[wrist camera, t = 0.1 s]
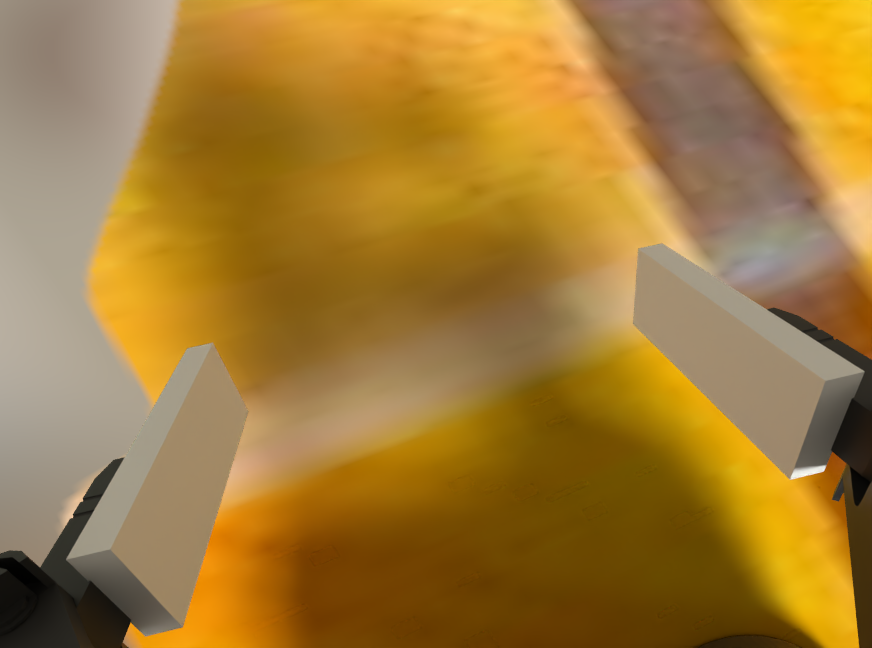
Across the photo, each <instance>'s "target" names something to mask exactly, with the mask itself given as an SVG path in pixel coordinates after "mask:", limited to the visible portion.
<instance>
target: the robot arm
mask: <svg viewBox="0 0 872 648" xmlns="http://www.w3.org/2000/svg"><path fill="white" fill-rule="evenodd" d="M633 324H634V325H635V326H636V327H637V328H638V329H639V330H640V331H641V332H642V333H643V334H644V335H645V336H646V337H647V338H648V339H649V340H650V341H651V342H652V343H653V344H654V345H655V346H656V347H657V348H658V349H659V350H660V351H661V352H662V353H663V354H664V355H665V356H666V357H667V358H668V359H669V360H670V361H671V362H672V363H673V364H674V365H675V366H676V367H677V368H678V369H679V370H680V371H681V372H682V373H683V374H684V375H685V376H686V377H687V378H688V379H689V380H690V381H691V382H692V383H693V384H694V385H695V386H696V387H697V388H698V389H699V390H700V391H701V392H702V393H703V394H704V395H705V396H706V397H707V398H708V399H709V400H710V401H711V402H712V403H713V404H714V405H715V406H716V407H717V408H718V409H719V410H720V411H721V412H722V413H723V414H724V415H725V416H726V417H727V418H728V419H729V420H730V421H731V422H732V423H733V424H734V425H735V426H737V427H738V428H739V429H740V430H741V431H742V432H743V433H744V434H745V435H746V436H747V437H748V438H749V439H750V440H751V441H752V442H753V443H754V444H755V445H756V446H757V447H758V448H759V449H760V450H761V451H762V452H763V453H764V454H765V455H766V456H767V457H768V458H769V459H770V460H771V461H772V462H773V463H774V464H775V465H776V466H777V467H778V468H779V469H780V470H781V471H782V472H783V473H784V474H785V475H786V476H787V477H788V478H789V479H790V480H791V479H795V478H799V477H803V476H807V475H811V474H815V473H820V472H824V470H825V467H826V465H827V462H828V460H829V457H830V455H831V453H832V451H833V452H834V453H835V454H836V455H837V456H838V457H840V458H841V459H842V460H843V461H844V462H846V463H847V464H846V466H845V469H844V471H843V473H842V475H841V478H840V480H839V482H838V484H837V487H836V489H835V491H834V494H833V498H832V500H836V501H839V500H840V498H841V495H842V494H843V493H844V496H845V507H846V517H847V527H848V537H849V547H850V557H851V567H852V577H853V587H854V598H855V608H856V618H857V628H858V638H859V648H872V360H871V359H869V358H868V357H866V356H864V355H863V354H861V353H859V352H858V351H856V350H854V349H853V348H851V347H849V346H848V345H846V344H844V343H843V342H841V341H839V340H838V339H836V340H834V339H833V336H831V335H829V334H828V333H826V332H824V331H823V330H818V329H817V327H816V326H814V325H813V324H811V323H809V322H808V321H806V320H804V319H803V318H801V317H799V316H797V315H794V314H791V313H788V312H785V311H782V310H779V309H776V308H771V309H765V308H763V307H762V306H760V305H759V304H757V303H755V302H754V301H752V300H751V299H749V298H748V297H746V296H744V295H743V294H741V293H740V292H738V291H737V290H735V289H733V288H732V287H730V286H729V285H727V284H725V283H724V282H722V281H721V280H719V279H718V278H716V277H714V276H713V275H711V274H710V273H708V272H706V271H705V270H703V269H702V268H700V267H699V266H697V265H695V264H694V263H692V262H691V261H689V260H687V259H686V258H684V257H683V256H681V255H680V254H678V253H676V252H675V251H673V250H672V249H670V248H669V247H667V246H665V245H664V244H657V245H653V246H648V247H644V248H639V249H638V259H637V273H636V288H635V303H634V317H633ZM247 414H248V409H247V408H246V406H245V404H244V402H243V400H242V398H241V396H240V394H239V392H238V390H237V388H236V386H235V384H234V382H233V380H232V379H231V377H230V375H229V373H228V371H227V369H226V367H225V365H224V363H223V361H222V359H221V357H220V355H219V353H218V351H217V350H216V348H215V346H214V344H213V343H210V344H205V345H200V346H196V347H191V348H187V350H186V351H185V353H184V355H183V357H182V358H181V360H180V362H179V364H178V365H177V367H176V369H175V371H174V372H173V374H172V376H171V378H170V379H169V381H168V383H167V385H166V386H165V388H164V390H163V392H162V393H161V395H160V397H159V398H158V400H157V402H156V404H155V405H154V407H153V409H152V411H151V412H150V414H149V416H148V418H147V419H146V421H145V423H144V425H143V426H142V428H141V430H140V432H139V433H138V435H137V437H136V439H135V440H134V442H133V444H132V445H131V447H130V449H129V451H128V452H127V454H126V456H125V457H124V458H120V459H116V460H113V461H112V462H111V463H110V464H109V465H108V466H107V467H106V468H105V469H104V470H103V471H102V472H101V473H100V474H99V475H98V476H97V477H96V478H95V479H94V481H93V483H92V484H91V486H90V488H89V489H88V491H87V492H86V494H85V496H84V497H83V502H80V504H79V505H78V507H77V509H76V510H75V512H74V514H73V518H71V519H70V520H69V522H68V523H67V525H66V527H65V528H64V530H63V531H62V533H61V535H60V536H59V538H58V540H57V541H56V543H55V544H54V546H53V548H52V549H51V551H50V553H49V554H48V556H47V558H46V559H45V561H44V562H43V564H42V566H41V567H38V566H37V565H36V564H35V563H34V562H33V561H32V560H31V559H30V558H29V557H27V556H26V555H25V554H24V553H23V552H22V551H7V552H4V553H1V554H0V648H128V647H127V646H126V645H125V644H124V643H123V640H124V637H125V635H126V632H127V630H128V627H129V625H130V622H131V623H132V624H133V625H134V626H135V627H136V628H137V629H138V630H139V631H140V632H141V633H143V634H144V635H145V636H148V635H153V634H157V633H161V632H165V631H169V630H173V629H177V628H181V627H183V625H184V621H185V618H186V615H187V611H188V608H189V605H190V602H191V598H192V595H193V592H194V588H195V585H196V582H197V579H198V575H199V572H200V569H201V565H202V562H203V559H204V556H205V552H206V549H207V546H208V542H209V539H210V536H211V533H212V529H213V526H214V523H215V519H216V516H217V513H218V510H219V506H220V503H221V500H222V496H223V493H224V490H225V487H226V483H227V480H228V477H229V473H230V470H231V467H232V464H233V460H234V457H235V454H236V450H237V447H238V444H239V441H240V437H241V434H242V431H243V427H244V424H245V421H246V418H247ZM699 648H801V647H799V646H796V645H794V644H792V643H789V642H786V641H783V640H779V639H775V638H770V637H764V636H749V635H748V636H735V637H728V638H723V639H719V640H716V641H713V642H710V643H708V644H705V645H703V646H701V647H699Z"/></svg>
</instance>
